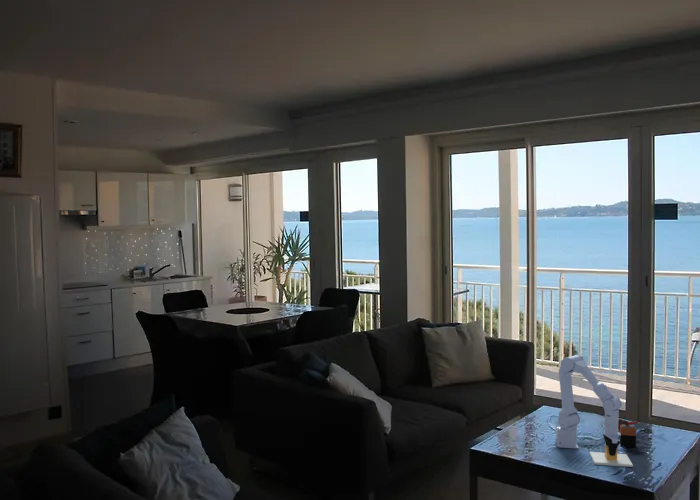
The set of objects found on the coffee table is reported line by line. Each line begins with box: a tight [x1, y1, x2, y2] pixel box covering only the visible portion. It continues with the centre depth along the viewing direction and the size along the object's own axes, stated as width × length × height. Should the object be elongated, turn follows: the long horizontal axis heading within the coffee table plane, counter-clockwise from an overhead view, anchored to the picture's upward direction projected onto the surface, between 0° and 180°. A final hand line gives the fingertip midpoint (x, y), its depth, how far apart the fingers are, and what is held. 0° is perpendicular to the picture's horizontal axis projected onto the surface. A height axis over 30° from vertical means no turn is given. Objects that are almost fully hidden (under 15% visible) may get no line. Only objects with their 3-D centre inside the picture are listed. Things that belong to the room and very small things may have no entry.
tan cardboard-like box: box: [604, 444, 618, 460], centre depth 281 cm, size 4×4×5 cm
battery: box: [619, 424, 637, 448], centre depth 299 cm, size 4×7×10 cm, turn 75°
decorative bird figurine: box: [603, 415, 640, 433], centre depth 315 cm, size 3×18×10 cm, turn 82°
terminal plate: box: [589, 451, 634, 468], centre depth 282 cm, size 16×12×4 cm
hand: (610, 452), depth 281 cm, fingers open, 5 cm apart
